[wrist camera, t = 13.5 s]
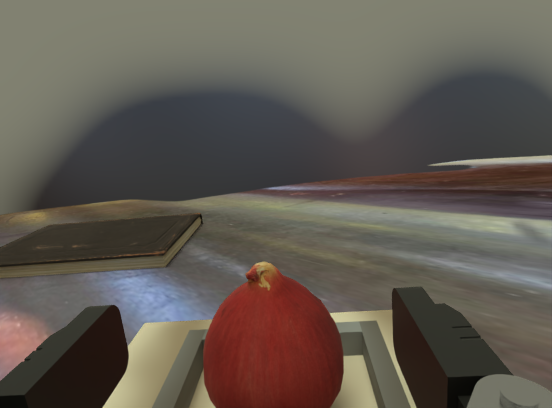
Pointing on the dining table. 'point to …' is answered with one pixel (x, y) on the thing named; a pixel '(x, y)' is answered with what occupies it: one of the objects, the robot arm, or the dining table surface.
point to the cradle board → (190, 372)
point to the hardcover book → (98, 246)
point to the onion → (272, 346)
